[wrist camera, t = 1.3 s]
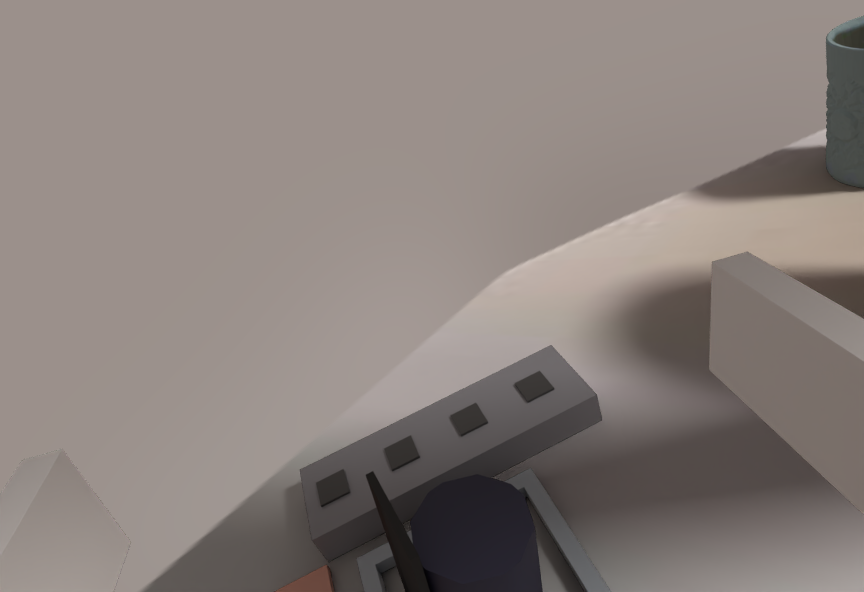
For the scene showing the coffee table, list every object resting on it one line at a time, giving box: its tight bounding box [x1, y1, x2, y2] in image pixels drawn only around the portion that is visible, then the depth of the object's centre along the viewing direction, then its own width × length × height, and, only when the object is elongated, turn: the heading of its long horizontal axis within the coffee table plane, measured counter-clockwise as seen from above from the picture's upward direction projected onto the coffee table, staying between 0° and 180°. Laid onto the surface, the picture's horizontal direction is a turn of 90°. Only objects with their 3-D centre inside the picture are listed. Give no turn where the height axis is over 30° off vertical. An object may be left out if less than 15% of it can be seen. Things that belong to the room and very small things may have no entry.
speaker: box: [366, 471, 543, 592], centre depth 27 cm, size 8×6×10 cm
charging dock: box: [300, 345, 611, 592], centre depth 33 cm, size 20×20×3 cm
